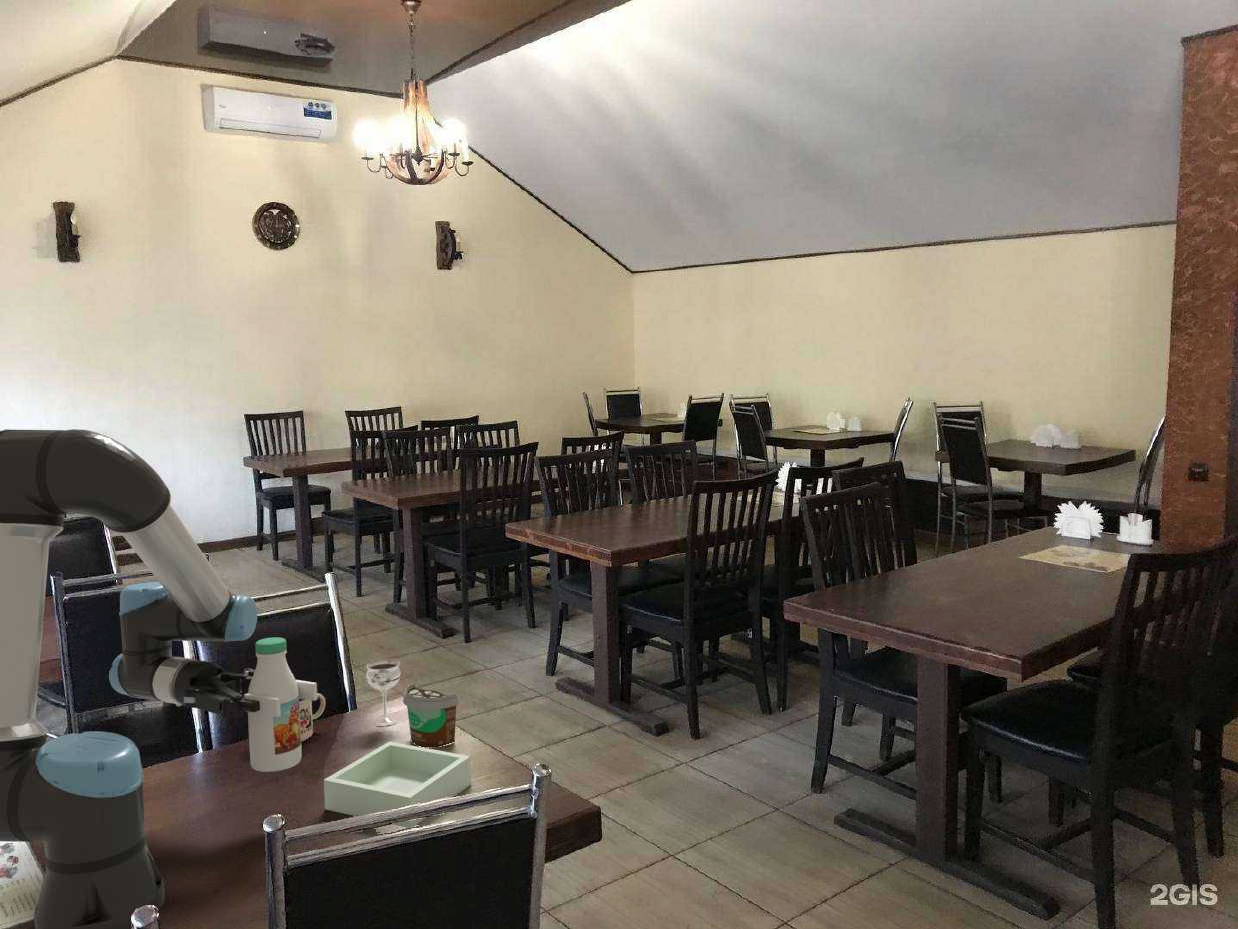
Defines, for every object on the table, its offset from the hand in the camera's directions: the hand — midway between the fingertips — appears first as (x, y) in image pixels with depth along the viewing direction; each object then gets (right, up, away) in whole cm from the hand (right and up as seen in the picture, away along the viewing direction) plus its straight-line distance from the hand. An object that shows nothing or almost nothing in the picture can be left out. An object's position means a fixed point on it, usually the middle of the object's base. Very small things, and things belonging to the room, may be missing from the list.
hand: (297, 699), depth 149 cm
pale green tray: (+14, -19, +10) cm, 25 cm away
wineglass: (+3, -16, +44) cm, 47 cm away
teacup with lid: (-13, -17, +38) cm, 43 cm away
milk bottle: (-4, -11, +3) cm, 12 cm away
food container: (+13, -17, +33) cm, 39 cm away
